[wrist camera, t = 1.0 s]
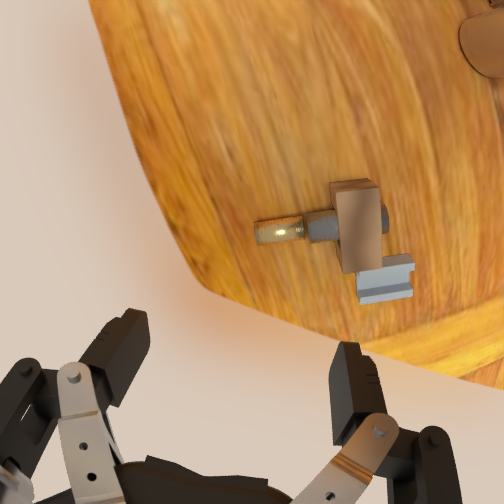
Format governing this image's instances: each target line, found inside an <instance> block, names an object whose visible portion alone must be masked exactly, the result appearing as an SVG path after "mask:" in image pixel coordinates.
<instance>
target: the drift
mask: <svg viewBox="0 0 504 504" xmlns="http://www.w3.org/2000/svg"><path fill="white" fill-rule="evenodd" d="M254 232H255V238H256V242H257V245H258V246H261V245H269V244H276V243H283V242H290V241H298V240H305V233H304V226H303V219H302V216H296V217H289V218H282V219H275V220H268V221H262V222H255V223H254Z"/></svg>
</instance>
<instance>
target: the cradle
mask: <svg viewBox="0 0 504 504" xmlns="http://www.w3.org/2000/svg"><path fill="white" fill-rule="evenodd" d="M414 270H415V262H414V260H413V259H412V258H411V257H410V255H409V254H403V255H396V256H389V257H382V269H375V270H369V271H362V272H356V294H357V297H358V300H359V303H360V305H363V304H370V303H376V302H382V301H388V300H394V299H400V298H406V297H412V296H413V288H412V286H411V285H410V283H409V272H410V271H414Z"/></svg>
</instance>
